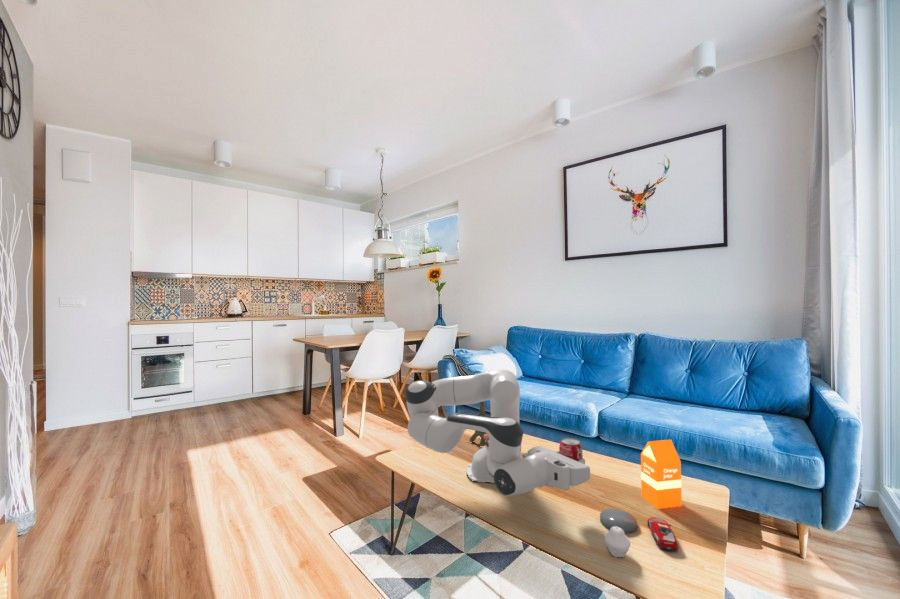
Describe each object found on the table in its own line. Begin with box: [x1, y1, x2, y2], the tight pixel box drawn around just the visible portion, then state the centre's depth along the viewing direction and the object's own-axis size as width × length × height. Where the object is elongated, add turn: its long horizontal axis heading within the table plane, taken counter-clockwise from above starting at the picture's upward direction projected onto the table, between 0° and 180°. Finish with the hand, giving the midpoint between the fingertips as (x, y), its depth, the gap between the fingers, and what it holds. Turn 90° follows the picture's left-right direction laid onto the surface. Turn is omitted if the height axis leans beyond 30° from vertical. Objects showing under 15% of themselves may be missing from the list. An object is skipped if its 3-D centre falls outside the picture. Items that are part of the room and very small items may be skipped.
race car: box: [647, 516, 679, 552], centre depth 103 cm, size 13×5×4 cm, turn 164°
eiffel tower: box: [468, 401, 487, 446], centre depth 176 cm, size 11×11×25 cm
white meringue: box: [604, 526, 631, 558], centre depth 97 cm, size 6×6×7 cm
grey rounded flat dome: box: [599, 508, 638, 535], centre depth 110 cm, size 10×10×2 cm
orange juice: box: [640, 439, 683, 510], centre depth 122 cm, size 8×9×20 cm
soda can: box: [558, 437, 584, 461], centre depth 117 cm, size 7×7×12 cm
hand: (574, 457), depth 117 cm, fingers closed on soda can, 5 cm apart
